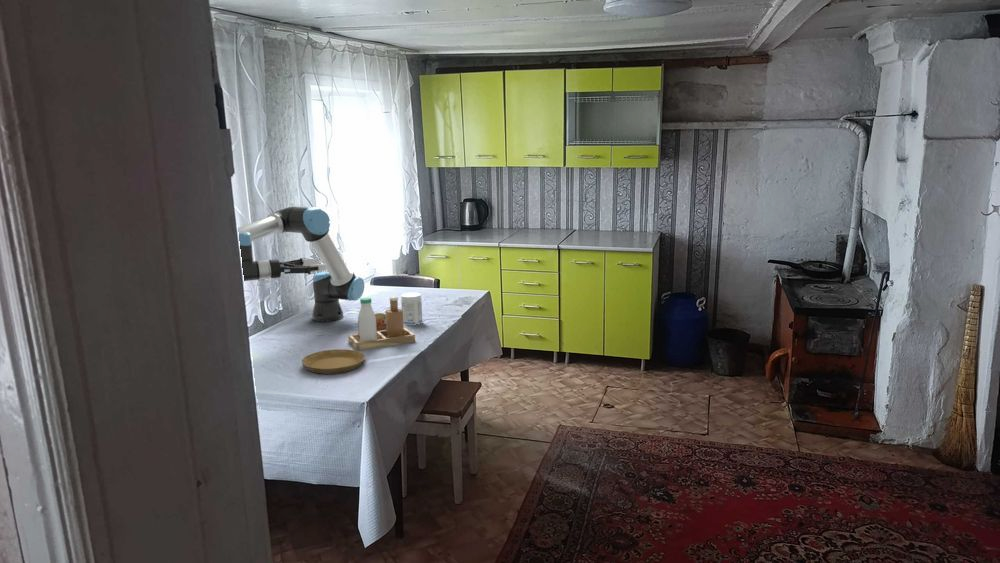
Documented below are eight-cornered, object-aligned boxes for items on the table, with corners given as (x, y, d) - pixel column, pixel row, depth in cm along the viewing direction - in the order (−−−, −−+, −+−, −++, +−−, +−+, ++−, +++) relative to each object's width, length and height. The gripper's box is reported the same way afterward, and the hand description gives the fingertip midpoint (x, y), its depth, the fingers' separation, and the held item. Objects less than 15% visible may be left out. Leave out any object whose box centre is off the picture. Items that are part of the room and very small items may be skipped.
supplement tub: (415, 320, 327) (414, 291, 324) (426, 324, 320) (425, 294, 316) (398, 324, 321) (397, 294, 318) (409, 328, 314) (407, 297, 310)
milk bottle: (380, 342, 289) (378, 297, 285) (368, 347, 282) (366, 301, 278) (367, 340, 293) (365, 295, 288) (355, 344, 286) (352, 299, 282)
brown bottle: (384, 338, 295) (382, 296, 291) (401, 336, 298) (399, 294, 294) (389, 343, 288) (387, 300, 284) (406, 340, 291) (404, 298, 287)
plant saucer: (339, 352, 280) (339, 344, 280) (377, 364, 265) (377, 356, 265) (289, 367, 262) (289, 359, 262) (327, 381, 247) (327, 372, 247)
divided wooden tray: (348, 344, 291) (348, 335, 290) (405, 335, 302) (404, 327, 301) (357, 352, 279) (356, 343, 278) (415, 343, 290) (414, 334, 289)
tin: (360, 335, 303) (359, 317, 301) (357, 334, 305) (356, 316, 304) (389, 329, 312) (388, 312, 311) (386, 328, 315) (385, 310, 313)
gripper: (265, 272, 282) (316, 268, 291) (275, 284, 260) (329, 278, 269) (264, 255, 280) (315, 251, 289) (273, 265, 258) (328, 260, 268)
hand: (322, 264), depth 279 cm, fingers open, 13 cm apart
